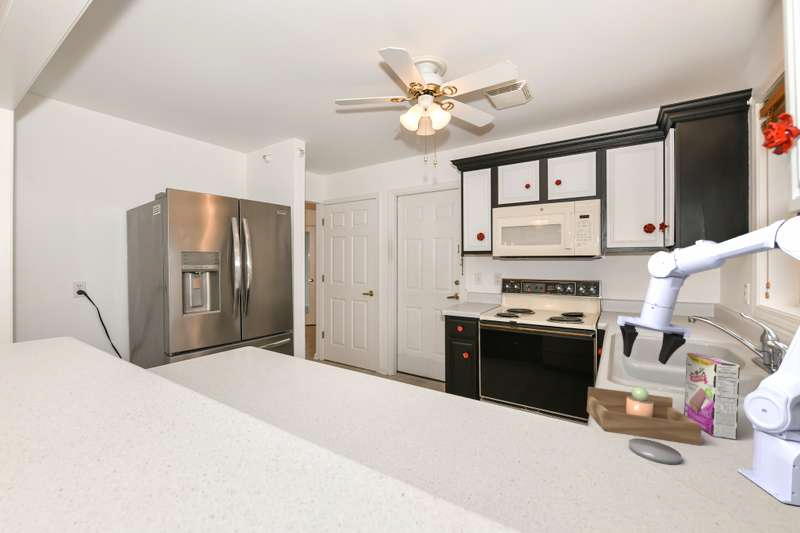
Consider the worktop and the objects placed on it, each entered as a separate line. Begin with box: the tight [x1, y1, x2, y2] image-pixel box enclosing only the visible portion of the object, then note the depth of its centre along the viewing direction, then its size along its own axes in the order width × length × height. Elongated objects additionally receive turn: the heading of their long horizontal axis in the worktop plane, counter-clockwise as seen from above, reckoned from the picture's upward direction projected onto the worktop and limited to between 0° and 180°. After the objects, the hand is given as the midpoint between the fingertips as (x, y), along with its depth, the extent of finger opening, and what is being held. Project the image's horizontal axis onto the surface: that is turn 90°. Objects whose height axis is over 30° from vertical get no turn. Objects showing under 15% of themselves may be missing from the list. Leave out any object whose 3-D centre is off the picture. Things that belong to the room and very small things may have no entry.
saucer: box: [628, 437, 682, 466], centre depth 67 cm, size 8×8×1 cm
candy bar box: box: [683, 352, 741, 440], centre depth 83 cm, size 11×5×16 cm, turn 168°
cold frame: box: [586, 386, 703, 447], centre depth 80 cm, size 12×18×6 cm, turn 78°
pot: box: [626, 386, 653, 417], centre depth 80 cm, size 5×5×9 cm
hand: (643, 358), depth 84 cm, fingers open, 7 cm apart
